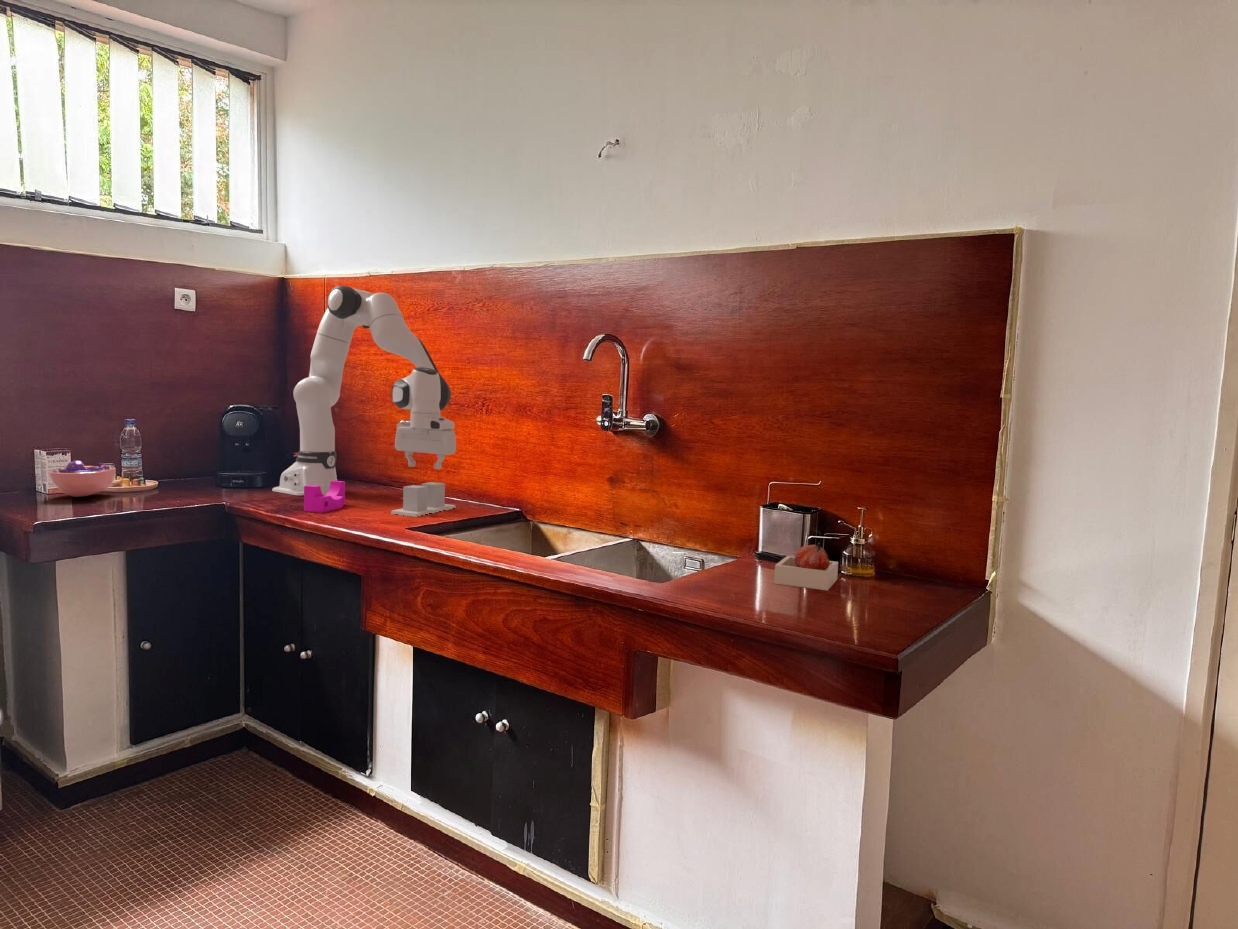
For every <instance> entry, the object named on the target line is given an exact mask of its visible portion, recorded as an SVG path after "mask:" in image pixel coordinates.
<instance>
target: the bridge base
mask: <svg viewBox="0 0 1238 929" xmlns="http://www.w3.org/2000/svg"><path fill="white" fill-rule="evenodd" d="M402 487H403V489H402V490H403V491H402V494H403V495H402V496H403V497H402V504H403V505H402V508H398V509H393V510H390V511H391V512H390V513H391V514H390V515H395V514H398V515H397V516H403V515H404V516H405V517H413V518H419V517H422V516H421V515H423V516H426V515H425V514H428V515H430V514H429V513H432V514H436V512H437V513H440V512H439V511H441V512H444V511H443V510H446V511H449V510H454V509H453V508H455V509H456V505H457V504H449V503H445V500H446V499H445V498H446V497H445V496H446V495H445V494H446V493H445V492H446V483H444V482H434V481H430V482H425V483H421V485H417V484H416V485H415V484H412V485H407V486H402ZM418 516H419V517H418Z"/></svg>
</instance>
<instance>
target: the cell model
mask: <svg viewBox="0 0 1238 929" xmlns="http://www.w3.org/2000/svg"><path fill="white" fill-rule="evenodd" d="M97 465H98V466H97ZM97 465H96V466H95V465H85V464H84V463H83V462H82V461H81V460H72V461H70V462H68V463H67V465H66V466H63V467H58V468H54V469H51V470H48V476H49V478H50V479H51V482H52V484H54V486H55V487H56V488H57V489H58V490H59V491H60V492H62V493H64V494H66V495H68V496H70V497H76V498H78V497H88V496H91V495H95V494H96V493H100V492H103V491H105V490H106V489H108V488H110V487H112V485H113V483H114V481H115V478H116V467H113V466H109V465H107V464H103V463H102V462H98V464H97Z"/></svg>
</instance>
